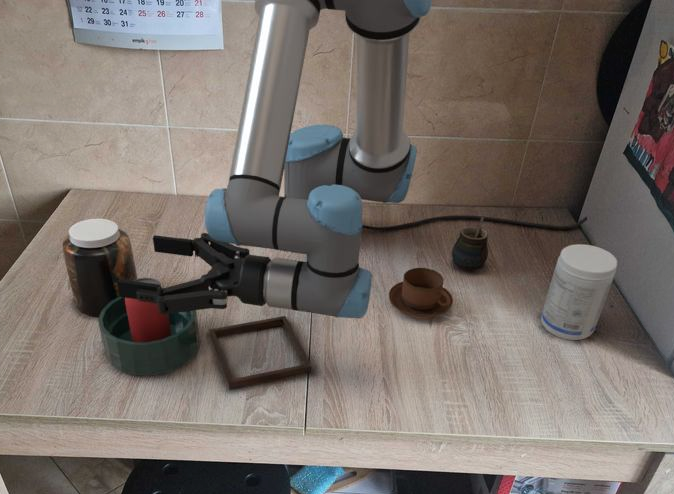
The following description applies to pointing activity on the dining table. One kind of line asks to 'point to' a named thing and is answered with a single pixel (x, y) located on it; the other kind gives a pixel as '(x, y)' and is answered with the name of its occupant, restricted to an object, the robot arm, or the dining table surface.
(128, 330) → the green bowl
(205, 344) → the dining table surface
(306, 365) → the brown square frame
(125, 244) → the jar
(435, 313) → the cup and saucer
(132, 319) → the beer can
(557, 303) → the supplement tub
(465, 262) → the mate gourd
